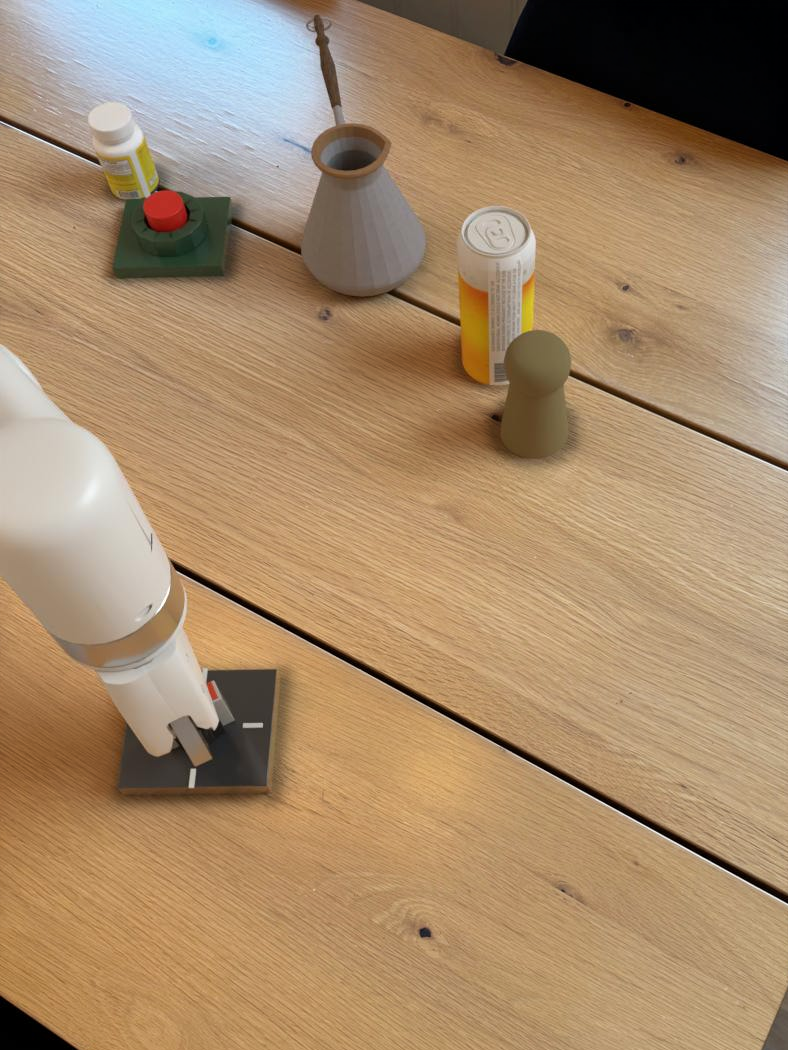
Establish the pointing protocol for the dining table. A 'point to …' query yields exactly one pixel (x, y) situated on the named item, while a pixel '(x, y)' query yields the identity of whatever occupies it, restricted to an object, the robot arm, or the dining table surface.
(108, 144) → the supplement bottle
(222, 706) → the hob knob
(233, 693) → the rotary switch
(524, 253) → the beer can
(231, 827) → the dining table surface
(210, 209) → the control block
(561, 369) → the olive pawn
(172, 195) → the power button
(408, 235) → the coffee pot
